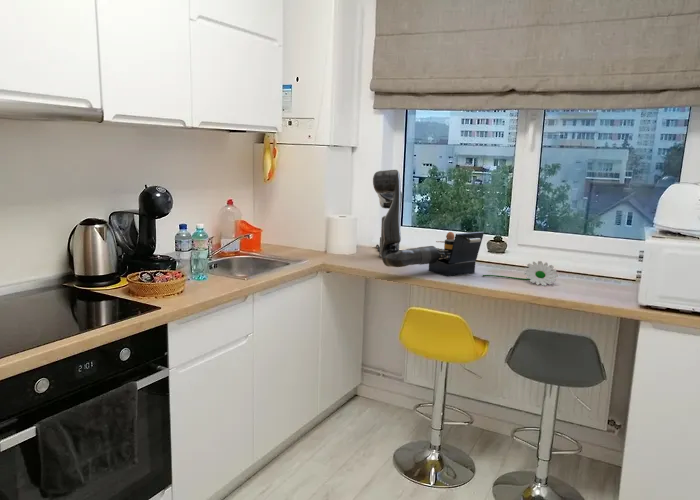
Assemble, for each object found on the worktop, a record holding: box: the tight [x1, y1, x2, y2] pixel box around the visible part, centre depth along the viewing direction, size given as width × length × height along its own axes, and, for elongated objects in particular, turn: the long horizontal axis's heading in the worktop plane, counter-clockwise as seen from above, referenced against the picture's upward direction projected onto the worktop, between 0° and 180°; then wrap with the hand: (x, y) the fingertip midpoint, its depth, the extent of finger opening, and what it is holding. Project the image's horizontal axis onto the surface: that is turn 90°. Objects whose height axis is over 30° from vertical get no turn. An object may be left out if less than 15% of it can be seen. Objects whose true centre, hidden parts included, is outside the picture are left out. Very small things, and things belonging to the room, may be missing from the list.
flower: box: [482, 260, 559, 287], centre depth 224 cm, size 13×6×30 cm
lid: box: [448, 231, 485, 264], centre depth 226 cm, size 13×16×4 cm
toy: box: [435, 231, 455, 244], centre depth 254 cm, size 13×4×15 cm, turn 84°
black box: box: [428, 259, 476, 277], centre depth 236 cm, size 13×16×5 cm
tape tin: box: [443, 238, 454, 264], centre depth 236 cm, size 6×6×13 cm
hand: (454, 252), depth 237 cm, fingers closed on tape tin, 5 cm apart
